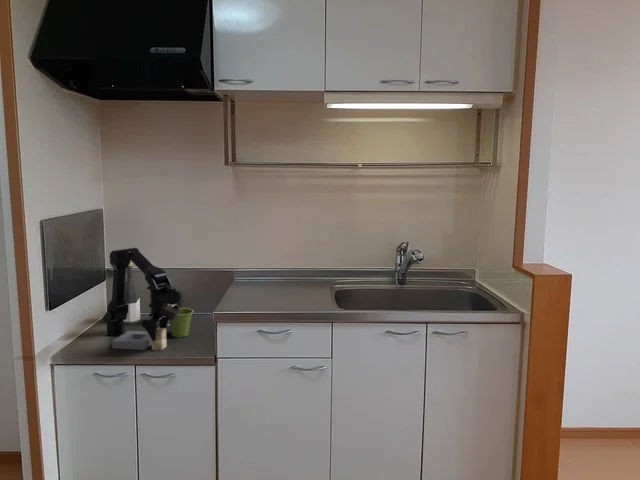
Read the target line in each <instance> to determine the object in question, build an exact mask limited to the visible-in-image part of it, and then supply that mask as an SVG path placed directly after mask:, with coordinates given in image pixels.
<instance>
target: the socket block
mask: <svg viewBox="0 0 640 480" xmlns="http://www.w3.org/2000/svg"><path fill="white" fill-rule="evenodd" d="M111 344H112V349H119V350H120V349H122V350H123V349H124V350H139V351H145V350H146V349H148V348H149V347H150V346H152V339H151V337H150V335H149V334H148V332H147V331H146V330H144V331H143V330H127V331H125V333H123V334H121V335H120V336H117V338H115V339H113V340H112V341H111Z"/></svg>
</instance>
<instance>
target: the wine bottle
mask: <svg viewBox="0 0 640 480" xmlns="http://www.w3.org/2000/svg"><path fill="white" fill-rule="evenodd" d="M133 272H134V271H133V262H132V261H130V264H129V266H128V267H127V269H126V274H127V275H126V276H127V277H126V279H125V291H124V301H125V302H126V304H128V313H127V318H126V320H123V323H124V326H135V325H138V324H139V323H140V324H141V305H140V304H141V303H140V302H141V299H140V290H139V287H138V283H136V281H135V280H134V275H133Z"/></svg>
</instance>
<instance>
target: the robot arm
mask: <svg viewBox="0 0 640 480" xmlns="http://www.w3.org/2000/svg"><path fill="white" fill-rule="evenodd" d="M130 262H131V263H132V264H134V265H135V266H136V267H137V268H138V269H139V270H140V272H142V273H143V275H144V280H145V282H146V283H147V284H148V286H147V287H146V290H148V291H149V293H150V295H149V297H150V303H149V304H148V307H149V308H150V313H149V314H148V317H145V318H144V319H143V320H141V321H140V324H141V327H142V328H143V329H145V331H147V332H148V334H149V335H150V337H151V339H152V341H155V340H156V332H157V328H166V329H167V327H168V326H167V323H168V320H169V319H171V320H175V319H176V318H177V317H178V314H179V313H180V310H179V308H180V306H179V304H178V303H179V301H180V299H181V297H180V296H181V295H180V293H179V292H178V291H177V289H176V287H173V284H172V282H171V280H170V278H169V276H168V274H167V272H166V271H165V270H164V269H163V268H161V267H158V266H155V265H153V264H152V263H151V262H150V261H149V260H148V259H147V258H146V256H145V255H143V254H142V252H141V251H140V249H139V248H137V247H130V248H123V249H117V250H116V249H115V250H112V251H111V252H109V264H110V265H111V267H112V268H113V274H112V275H113V277H112V292H111V293H112V294H111V295H112V296H111V300H110V302H109V304H108V305H107V309H106V312H105V314H104V315H103V316H102V322H103V323H105V324H106V333H105V336H107V337H120V336H121V335H123V334H124V333H126V330H125V325H124V323H123V320H126V318H127V313H128V304H126V302H125V301H124V291H125V282H126V274H127V267H128V266H129V264H130ZM168 304H171V305H175V304H178V305H175V306H173V307H172V306H171V307H169V306H168Z"/></svg>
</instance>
